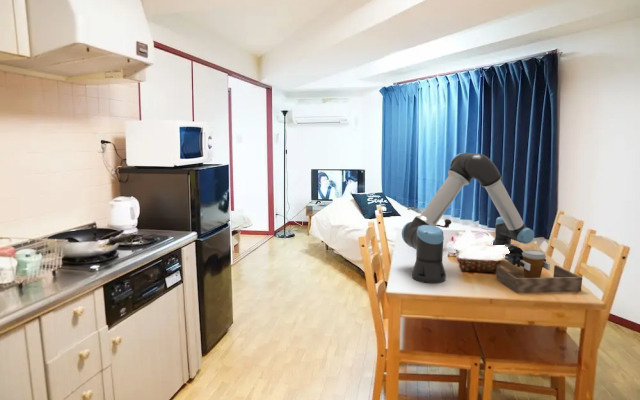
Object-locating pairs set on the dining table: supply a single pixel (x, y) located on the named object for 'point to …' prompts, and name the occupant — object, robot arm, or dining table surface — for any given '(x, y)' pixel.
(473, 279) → the dining table surface
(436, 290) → the dining table surface
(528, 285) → the walnut crate
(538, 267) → the disposable coffee cup
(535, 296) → the dining table surface
